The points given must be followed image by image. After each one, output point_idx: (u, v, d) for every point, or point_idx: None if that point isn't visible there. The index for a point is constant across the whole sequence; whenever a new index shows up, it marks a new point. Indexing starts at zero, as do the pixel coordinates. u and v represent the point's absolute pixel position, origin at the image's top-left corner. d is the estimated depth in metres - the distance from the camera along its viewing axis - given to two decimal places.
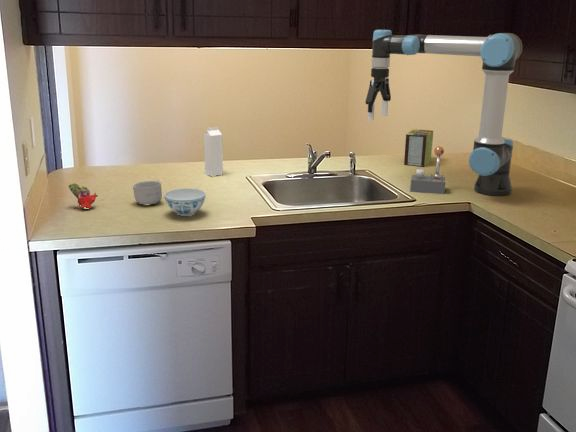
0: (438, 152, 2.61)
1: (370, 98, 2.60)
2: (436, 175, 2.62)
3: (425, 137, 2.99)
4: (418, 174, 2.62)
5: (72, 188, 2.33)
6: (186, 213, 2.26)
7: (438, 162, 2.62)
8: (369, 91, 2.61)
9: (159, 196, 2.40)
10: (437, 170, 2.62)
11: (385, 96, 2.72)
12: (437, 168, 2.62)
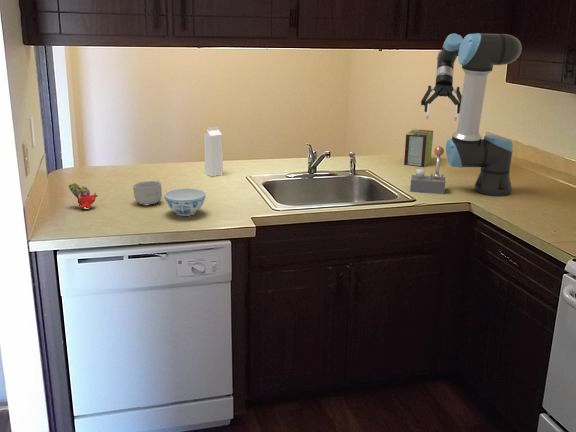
0: (438, 152, 2.61)
1: None
2: (436, 175, 2.62)
3: (425, 137, 2.99)
4: (418, 174, 2.62)
5: (72, 188, 2.33)
6: (186, 213, 2.26)
7: (438, 162, 2.62)
8: None
9: (159, 196, 2.40)
10: (437, 170, 2.62)
11: (454, 101, 2.76)
12: (437, 168, 2.62)
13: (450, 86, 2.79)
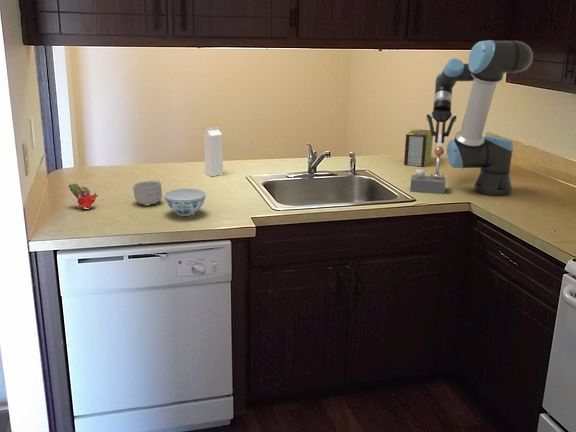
0: (438, 152, 2.61)
1: (430, 129, 2.69)
2: (436, 175, 2.62)
3: (425, 137, 2.99)
4: (418, 174, 2.62)
5: (72, 188, 2.33)
6: (186, 213, 2.26)
7: (438, 162, 2.62)
8: (429, 125, 2.72)
9: (159, 196, 2.40)
10: (437, 170, 2.62)
11: (442, 129, 2.69)
12: (437, 168, 2.62)
13: (448, 112, 2.72)
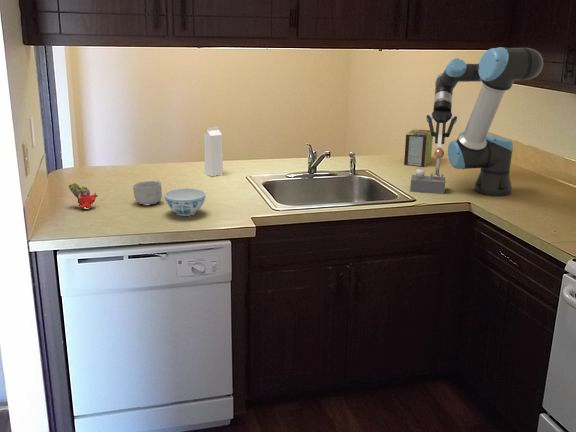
0: (438, 157, 2.56)
1: (430, 130, 2.63)
2: (436, 176, 2.62)
3: (425, 137, 2.99)
4: (418, 174, 2.62)
5: (72, 188, 2.33)
6: (186, 213, 2.26)
7: (438, 164, 2.59)
8: (429, 126, 2.65)
9: (159, 196, 2.40)
10: (437, 171, 2.61)
11: (442, 130, 2.62)
12: (437, 170, 2.60)
13: (449, 112, 2.65)
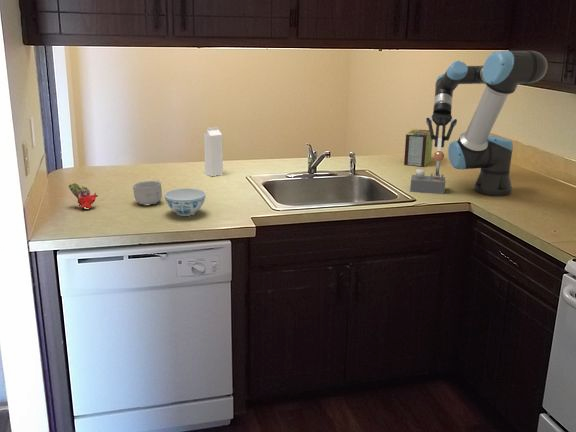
0: (437, 160, 2.55)
1: (430, 133, 2.62)
2: (436, 177, 2.62)
3: (425, 137, 2.99)
4: (418, 174, 2.62)
5: (72, 188, 2.33)
6: (186, 213, 2.26)
7: (438, 166, 2.58)
8: (429, 129, 2.64)
9: (159, 196, 2.40)
10: (437, 172, 2.60)
11: (442, 133, 2.61)
12: (437, 171, 2.60)
13: (448, 115, 2.64)
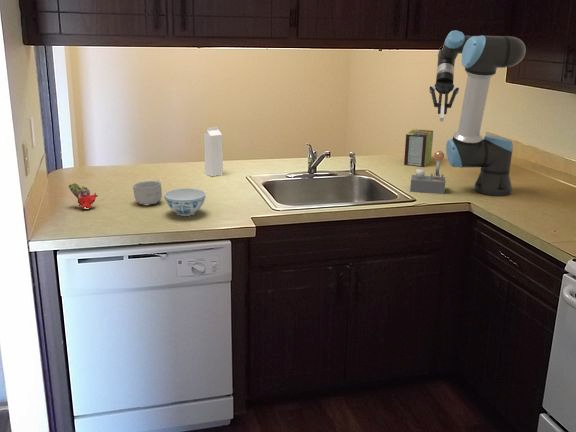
0: (438, 160, 2.55)
1: (433, 101, 2.73)
2: (436, 177, 2.62)
3: (425, 137, 2.99)
4: (418, 174, 2.62)
5: (72, 188, 2.33)
6: (186, 213, 2.26)
7: (438, 166, 2.58)
8: (432, 97, 2.75)
9: (159, 196, 2.40)
10: (437, 172, 2.60)
11: None
12: (437, 171, 2.60)
13: (451, 84, 2.75)
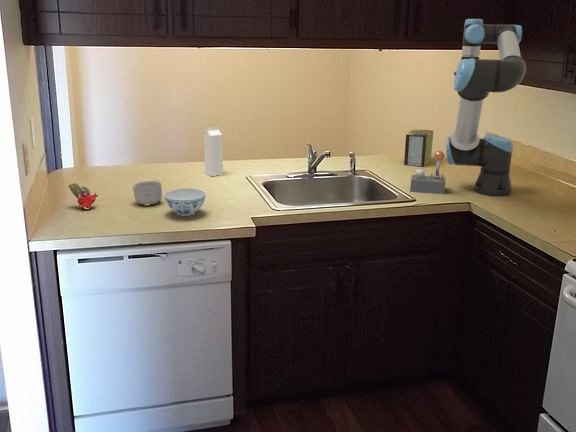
0: (438, 160, 2.55)
1: None
2: (436, 177, 2.62)
3: (425, 137, 2.99)
4: (418, 174, 2.62)
5: (72, 188, 2.33)
6: (186, 213, 2.26)
7: (438, 166, 2.58)
8: None
9: (159, 196, 2.40)
10: (437, 172, 2.60)
11: None
12: (437, 171, 2.60)
13: None
